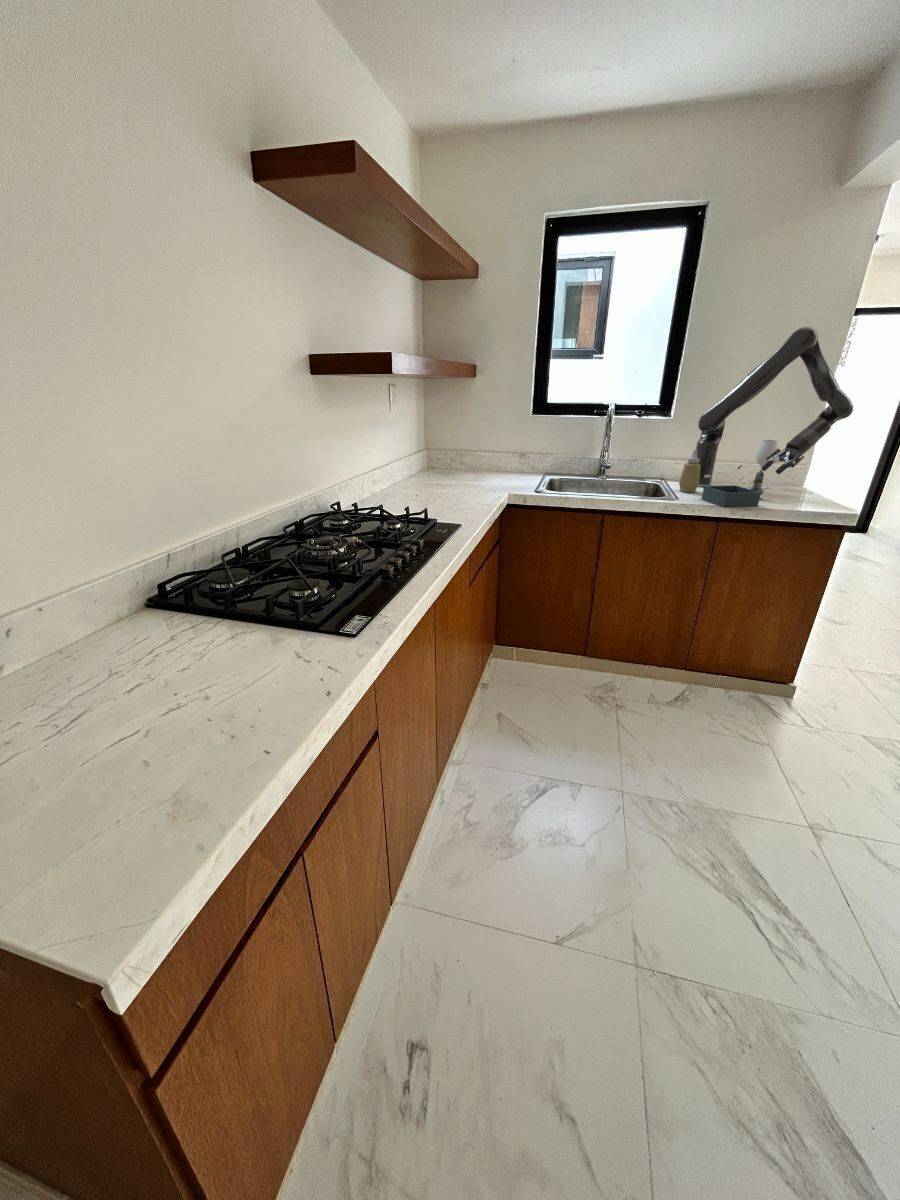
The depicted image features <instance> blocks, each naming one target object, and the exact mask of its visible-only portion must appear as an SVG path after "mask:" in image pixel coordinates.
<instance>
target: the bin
mask: <svg viewBox="0 0 900 1200" xmlns="http://www.w3.org/2000/svg"><path fill="white" fill-rule="evenodd" d="M760 495H761V492H758V491H754V490H751V488H746V487H743V486H739V485H711V486H704V487H703V489H702V495H701V500H703V501H705V502H708V503H710V504H713V505H716V506H719V507H722V508H749V507H750V508H751V507H752V508H753V507H754V508H755V507H759V502H760V500H759V499H760V498H761V496H762V495H761V496H760Z"/></svg>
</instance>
